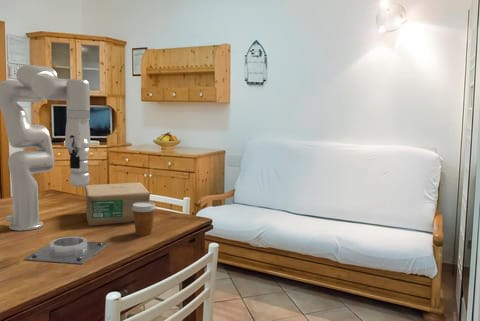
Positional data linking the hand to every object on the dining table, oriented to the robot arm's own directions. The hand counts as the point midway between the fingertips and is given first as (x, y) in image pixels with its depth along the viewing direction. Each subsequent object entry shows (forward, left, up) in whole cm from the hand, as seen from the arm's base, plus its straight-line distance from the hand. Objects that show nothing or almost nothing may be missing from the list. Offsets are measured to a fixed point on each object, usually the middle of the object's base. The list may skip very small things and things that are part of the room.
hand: (79, 166), depth 149 cm
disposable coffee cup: (+16, +21, -30) cm, 40 cm away
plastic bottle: (0, 0, -7) cm, 7 cm away
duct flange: (-2, -5, -29) cm, 30 cm away
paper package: (-4, +44, -30) cm, 53 cm away
